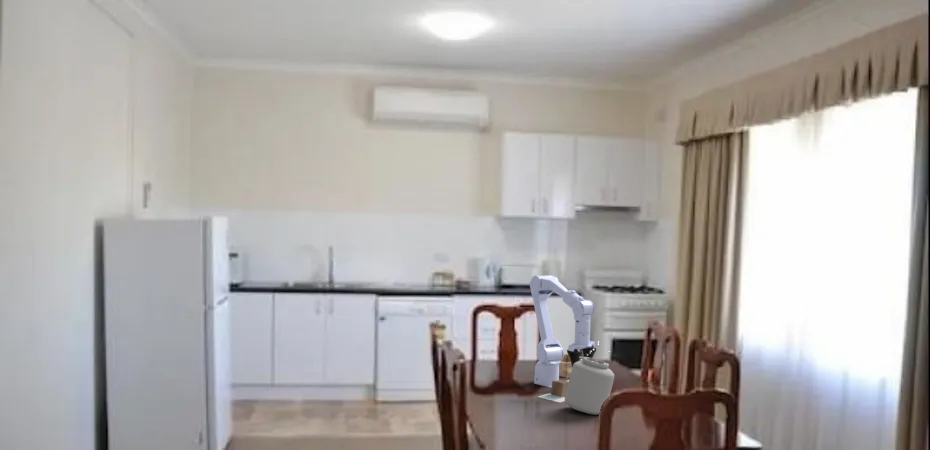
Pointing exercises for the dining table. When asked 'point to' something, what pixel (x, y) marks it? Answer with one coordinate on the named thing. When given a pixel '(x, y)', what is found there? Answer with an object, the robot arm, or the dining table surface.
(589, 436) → the dining table surface
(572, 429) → the dining table surface
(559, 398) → the white flat plate
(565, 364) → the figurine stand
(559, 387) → the walnut block
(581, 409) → the jar
